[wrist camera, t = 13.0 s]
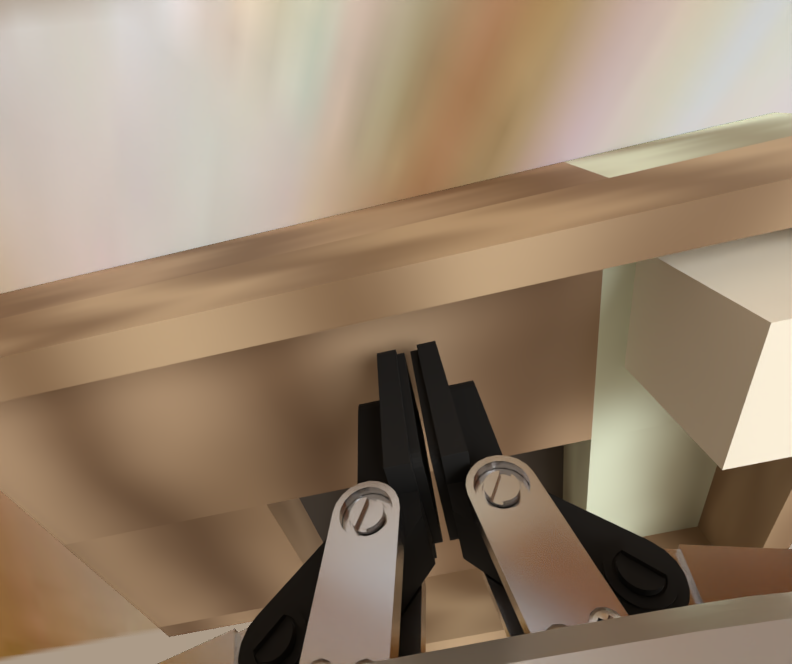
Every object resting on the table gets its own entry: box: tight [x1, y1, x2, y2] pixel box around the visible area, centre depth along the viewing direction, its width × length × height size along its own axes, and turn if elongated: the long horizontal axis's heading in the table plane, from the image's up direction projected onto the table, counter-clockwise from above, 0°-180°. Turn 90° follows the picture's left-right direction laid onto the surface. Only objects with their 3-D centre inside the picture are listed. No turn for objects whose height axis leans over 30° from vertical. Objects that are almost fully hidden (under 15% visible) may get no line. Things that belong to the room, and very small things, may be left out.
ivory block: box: [624, 228, 792, 470], centre depth 10 cm, size 4×4×4 cm
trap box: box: [0, 113, 792, 652], centre depth 14 cm, size 26×17×5 cm, turn 102°
